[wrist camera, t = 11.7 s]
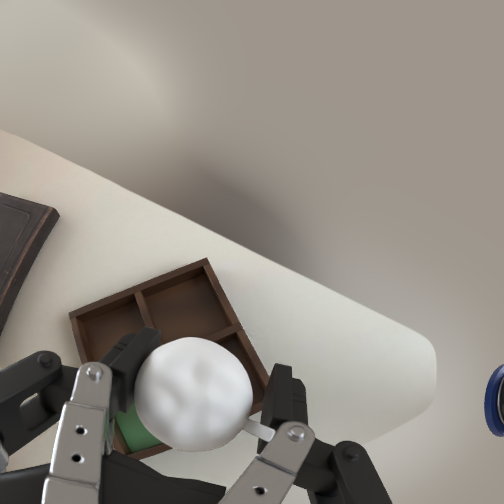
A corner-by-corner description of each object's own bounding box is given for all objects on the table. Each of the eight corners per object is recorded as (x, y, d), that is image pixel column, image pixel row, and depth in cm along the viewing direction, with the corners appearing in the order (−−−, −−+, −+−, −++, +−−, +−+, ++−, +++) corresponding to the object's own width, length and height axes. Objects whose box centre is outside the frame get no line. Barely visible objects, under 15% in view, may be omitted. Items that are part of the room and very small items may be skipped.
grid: (277, 400, 29) (282, 399, 27) (130, 461, 24) (122, 464, 22) (207, 268, 36) (206, 257, 34) (78, 320, 31) (68, 312, 29)
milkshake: (228, 454, 16) (238, 493, 7) (154, 411, 16) (94, 405, 8) (263, 396, 18) (305, 377, 9) (190, 355, 19) (166, 299, 10)
